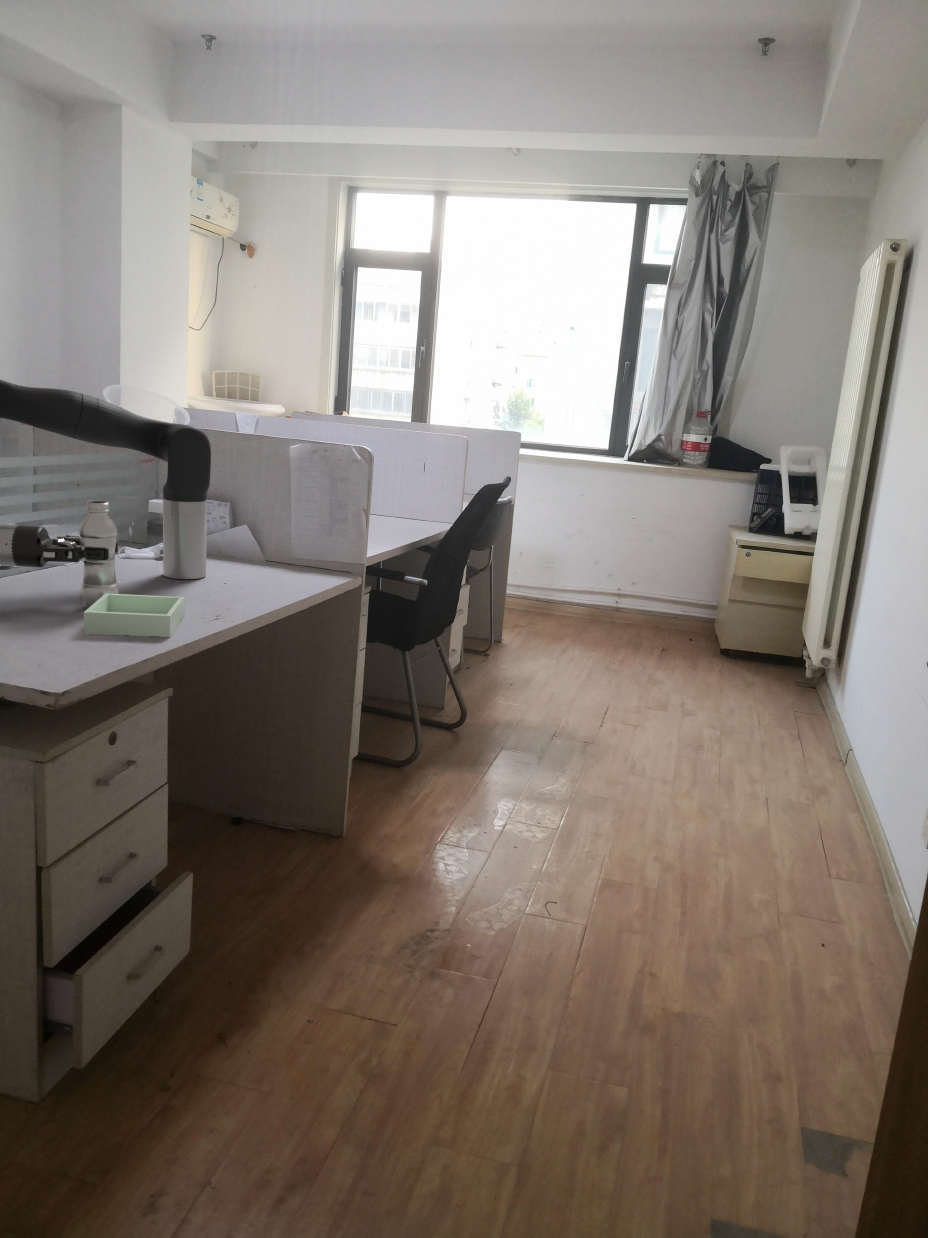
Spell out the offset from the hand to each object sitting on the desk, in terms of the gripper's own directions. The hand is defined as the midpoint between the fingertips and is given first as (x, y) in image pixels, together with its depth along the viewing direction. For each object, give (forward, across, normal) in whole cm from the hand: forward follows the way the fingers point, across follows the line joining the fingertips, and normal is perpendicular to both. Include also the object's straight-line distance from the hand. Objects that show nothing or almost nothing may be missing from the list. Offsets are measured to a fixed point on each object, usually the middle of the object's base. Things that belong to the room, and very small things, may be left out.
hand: (112, 550), depth 162 cm
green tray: (+7, -11, +11) cm, 17 cm away
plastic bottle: (-2, 0, +11) cm, 11 cm away
